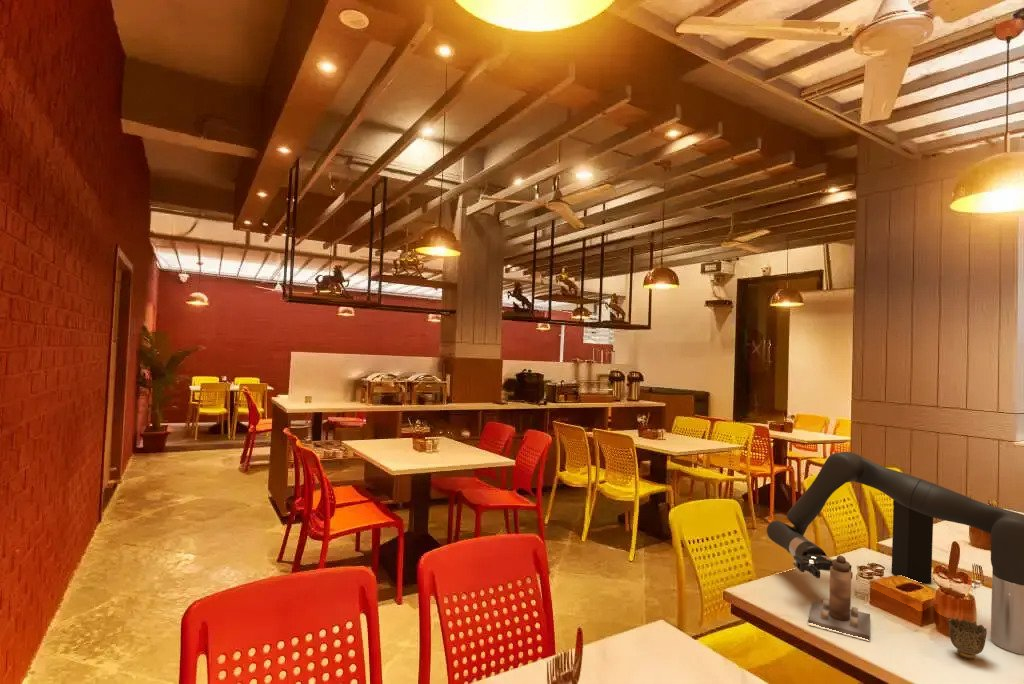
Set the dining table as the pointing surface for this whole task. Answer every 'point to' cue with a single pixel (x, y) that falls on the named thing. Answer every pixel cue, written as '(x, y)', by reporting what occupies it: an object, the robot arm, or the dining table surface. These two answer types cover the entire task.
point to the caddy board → (854, 626)
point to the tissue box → (912, 544)
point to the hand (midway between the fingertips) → (834, 575)
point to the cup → (967, 637)
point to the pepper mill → (840, 589)
